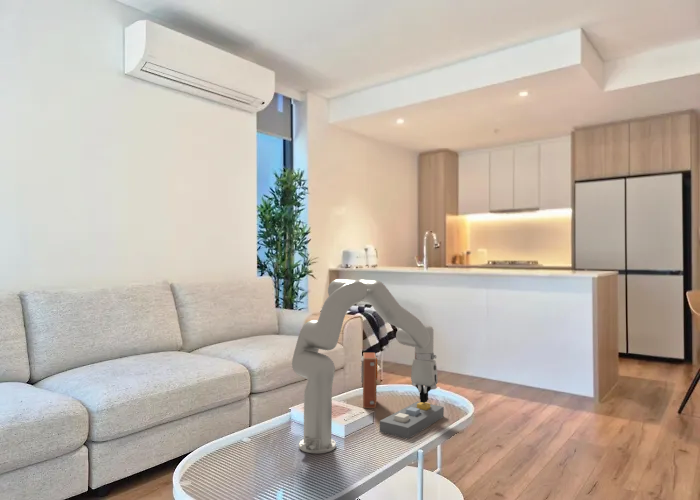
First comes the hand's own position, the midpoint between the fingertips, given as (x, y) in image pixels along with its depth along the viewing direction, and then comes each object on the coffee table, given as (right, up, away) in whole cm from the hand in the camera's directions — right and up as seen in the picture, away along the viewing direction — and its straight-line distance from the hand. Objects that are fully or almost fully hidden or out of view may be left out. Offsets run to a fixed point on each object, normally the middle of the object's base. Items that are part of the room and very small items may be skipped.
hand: (423, 401), depth 196 cm
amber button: (0, -4, 0) cm, 4 cm away
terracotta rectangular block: (-22, -7, +18) cm, 29 cm away
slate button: (-5, -4, -7) cm, 10 cm away
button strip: (-5, -6, -7) cm, 11 cm away
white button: (-11, -3, -15) cm, 19 cm away
